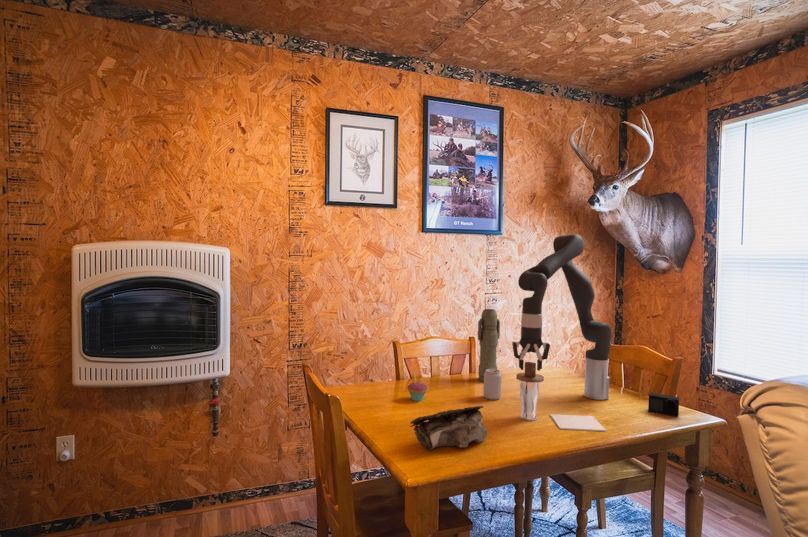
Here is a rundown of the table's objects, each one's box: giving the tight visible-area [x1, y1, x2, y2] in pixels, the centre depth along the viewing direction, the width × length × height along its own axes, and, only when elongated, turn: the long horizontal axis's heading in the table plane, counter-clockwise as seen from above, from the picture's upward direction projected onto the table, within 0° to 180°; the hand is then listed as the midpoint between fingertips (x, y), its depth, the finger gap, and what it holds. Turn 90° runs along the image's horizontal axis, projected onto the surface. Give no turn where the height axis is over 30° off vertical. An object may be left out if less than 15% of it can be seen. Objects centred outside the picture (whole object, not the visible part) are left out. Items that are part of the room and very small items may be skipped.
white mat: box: [550, 413, 607, 432], centre depth 168 cm, size 16×14×1 cm
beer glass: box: [519, 380, 540, 422], centre depth 172 cm, size 7×7×15 cm
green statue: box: [477, 308, 501, 383], centre depth 223 cm, size 9×12×35 cm
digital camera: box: [647, 392, 680, 418], centre depth 181 cm, size 10×5×7 cm, turn 56°
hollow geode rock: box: [409, 405, 489, 452], centre depth 145 cm, size 28×13×15 cm
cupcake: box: [407, 371, 428, 402], centre depth 191 cm, size 9×8×12 cm
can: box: [482, 368, 503, 401], centre depth 196 cm, size 8×8×12 cm
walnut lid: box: [516, 361, 545, 383], centre depth 172 cm, size 10×10×6 cm
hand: (530, 369), depth 172 cm, fingers open, 5 cm apart
